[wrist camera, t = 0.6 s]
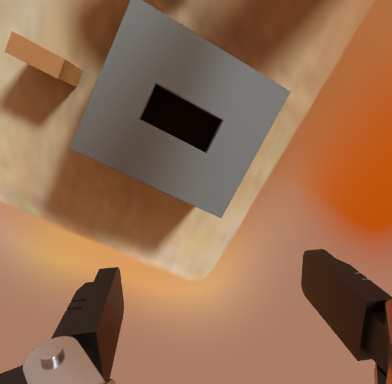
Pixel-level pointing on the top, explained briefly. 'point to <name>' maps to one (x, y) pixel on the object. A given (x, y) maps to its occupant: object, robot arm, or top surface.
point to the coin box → (186, 89)
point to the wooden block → (43, 59)
